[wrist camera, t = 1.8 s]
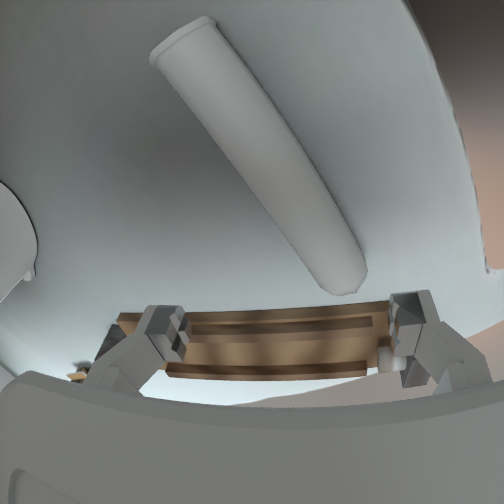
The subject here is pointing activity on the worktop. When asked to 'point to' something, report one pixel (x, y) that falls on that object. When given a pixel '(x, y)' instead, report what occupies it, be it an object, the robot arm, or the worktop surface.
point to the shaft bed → (285, 344)
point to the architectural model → (78, 375)
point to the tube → (261, 151)
